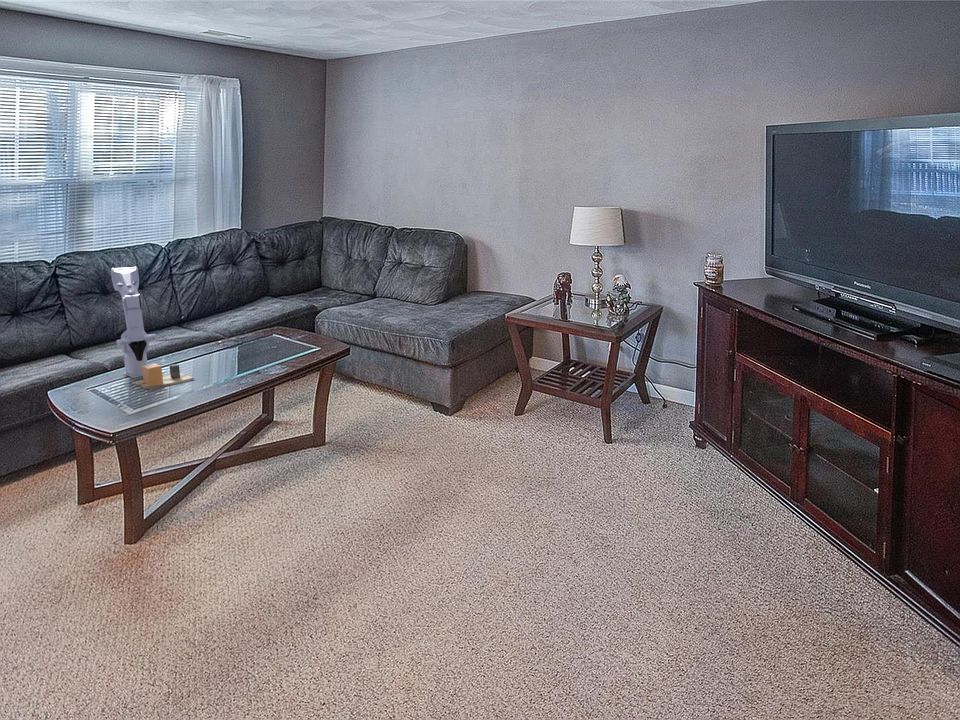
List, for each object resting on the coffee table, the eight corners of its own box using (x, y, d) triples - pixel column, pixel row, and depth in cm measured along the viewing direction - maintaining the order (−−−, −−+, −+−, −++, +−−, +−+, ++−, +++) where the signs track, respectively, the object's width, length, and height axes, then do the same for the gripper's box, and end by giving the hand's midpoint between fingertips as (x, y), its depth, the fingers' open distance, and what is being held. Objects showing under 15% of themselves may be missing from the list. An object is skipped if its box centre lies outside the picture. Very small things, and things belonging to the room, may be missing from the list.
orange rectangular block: (143, 382, 286) (141, 366, 284) (156, 379, 290) (154, 363, 288) (150, 385, 283) (147, 368, 281) (163, 382, 287) (161, 365, 285)
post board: (135, 383, 287) (133, 369, 286) (179, 373, 300) (177, 360, 299) (149, 390, 280) (147, 375, 278) (194, 379, 293) (192, 365, 291)
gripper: (120, 330, 274) (125, 366, 277) (158, 324, 284) (162, 358, 288) (112, 328, 278) (117, 362, 282) (150, 321, 288) (154, 355, 292)
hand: (139, 360), depth 285 cm, fingers closed
